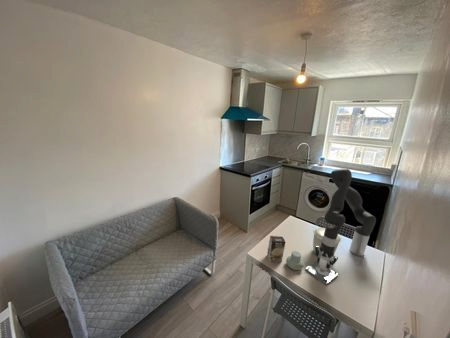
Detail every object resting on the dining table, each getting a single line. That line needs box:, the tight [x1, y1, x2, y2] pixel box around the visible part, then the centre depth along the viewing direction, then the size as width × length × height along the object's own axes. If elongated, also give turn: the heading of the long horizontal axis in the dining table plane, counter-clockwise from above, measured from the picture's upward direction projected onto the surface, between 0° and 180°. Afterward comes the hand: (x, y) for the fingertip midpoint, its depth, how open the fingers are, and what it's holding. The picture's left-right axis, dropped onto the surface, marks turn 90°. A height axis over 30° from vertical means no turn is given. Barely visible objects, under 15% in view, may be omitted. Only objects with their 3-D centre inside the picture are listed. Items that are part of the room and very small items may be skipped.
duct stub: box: [318, 255, 330, 271], centre depth 122 cm, size 6×6×9 cm
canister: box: [312, 227, 342, 259], centre depth 140 cm, size 18×18×21 cm
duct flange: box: [305, 260, 339, 286], centre depth 124 cm, size 14×14×2 cm
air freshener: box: [285, 250, 304, 271], centre depth 127 cm, size 11×8×10 cm
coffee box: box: [266, 235, 286, 263], centre depth 132 cm, size 9×6×16 cm
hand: (323, 265), depth 123 cm, fingers closed on duct stub, 5 cm apart
